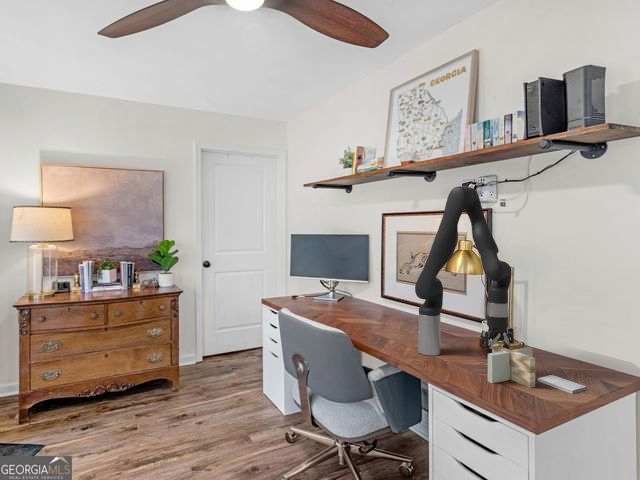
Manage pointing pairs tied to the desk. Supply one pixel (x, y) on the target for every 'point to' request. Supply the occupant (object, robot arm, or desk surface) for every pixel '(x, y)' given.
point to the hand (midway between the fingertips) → (497, 356)
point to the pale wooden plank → (520, 366)
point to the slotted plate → (503, 365)
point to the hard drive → (562, 384)
